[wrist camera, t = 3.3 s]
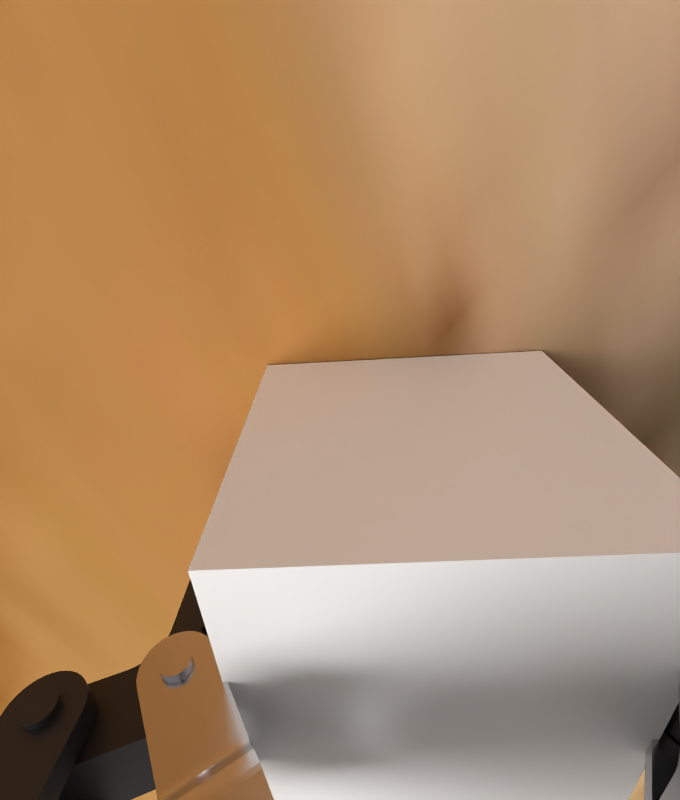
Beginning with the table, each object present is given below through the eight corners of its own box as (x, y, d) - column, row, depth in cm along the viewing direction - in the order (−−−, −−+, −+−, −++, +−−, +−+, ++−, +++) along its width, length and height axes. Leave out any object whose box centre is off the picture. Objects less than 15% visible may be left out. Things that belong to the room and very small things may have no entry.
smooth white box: (267, 365, 11) (187, 570, 6) (541, 350, 11) (757, 549, 5) (296, 559, 15) (264, 818, 9) (509, 551, 14) (622, 812, 9)
